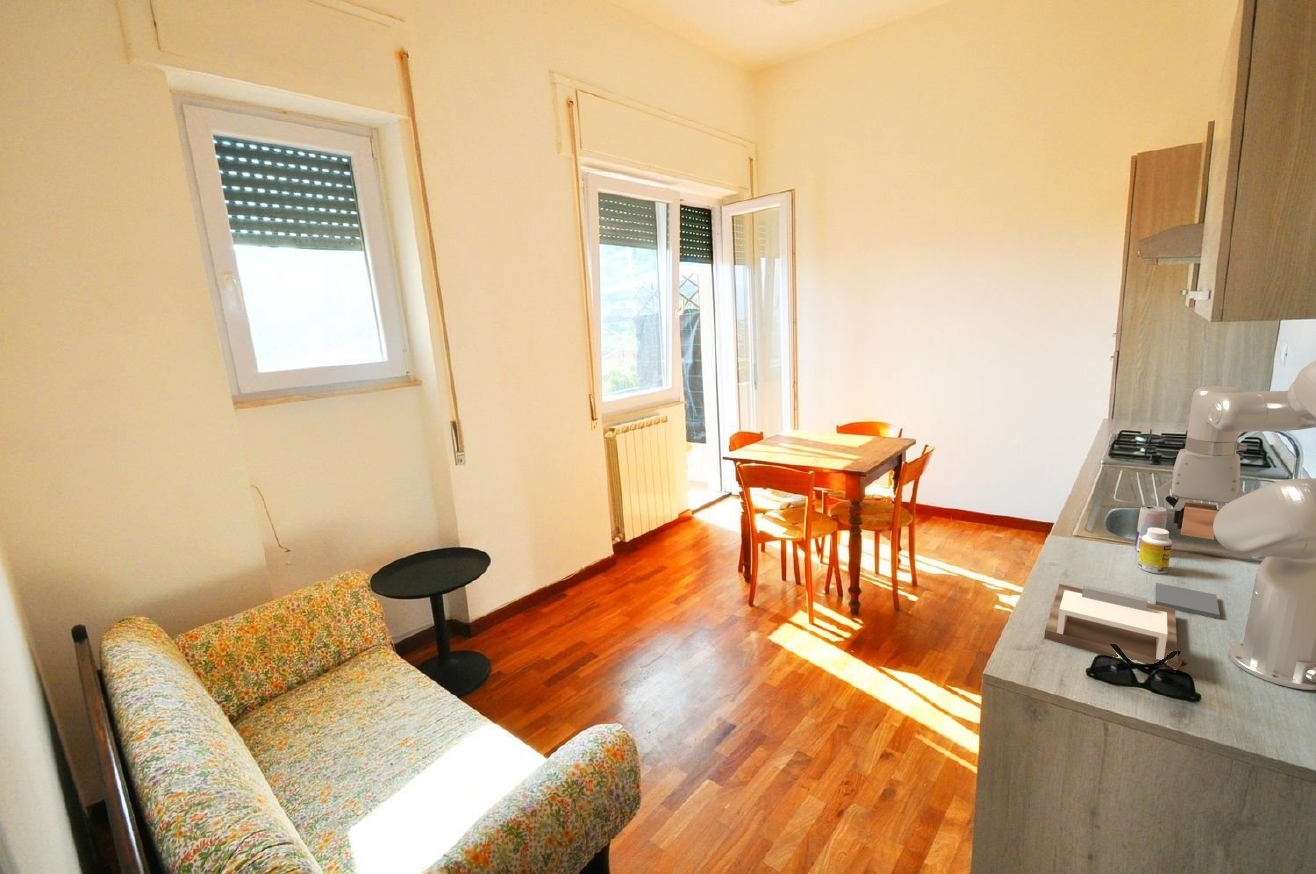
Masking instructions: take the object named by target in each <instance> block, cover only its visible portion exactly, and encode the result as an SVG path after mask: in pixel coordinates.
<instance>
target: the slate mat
mask: <svg viewBox="0 0 1316 874" xmlns="http://www.w3.org/2000/svg"><path fill="white" fill-rule="evenodd" d="M1155 605H1160V606H1164V607H1169V608H1174V609H1175V611H1180V612H1184V613H1189V614H1194V615H1198V616H1203V617H1208V618H1213V619H1218V620H1220V616H1221V615H1220V609H1219V603H1218V597H1217V594H1214V593H1211V592H1205V591H1200V590H1194V589H1190V588H1185V587H1179V586H1174V585H1171V584H1170V585H1169V584H1165V583H1159V582H1155Z"/></svg>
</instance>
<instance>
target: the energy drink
mask: <svg viewBox="0 0 1316 874" xmlns="http://www.w3.org/2000/svg"><path fill="white" fill-rule="evenodd" d="M1167 518H1168V511H1167V509H1166V508H1165V507H1163V506H1160V505H1154V504H1144V505H1141V507H1140V509H1139V515H1138V522H1137V529H1136V536H1135V537H1136V538H1135V544H1134V545H1135V546H1134V549H1135V551H1136V552H1137V551H1139V552H1140V548H1141V541H1142V537H1143V536H1144V535H1146V534H1147V530H1148V528H1161V529H1165V530H1166V527H1167V520H1168V519H1167ZM1139 552H1138V553H1139Z"/></svg>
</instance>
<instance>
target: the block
mask: <svg viewBox="0 0 1316 874" xmlns="http://www.w3.org/2000/svg"><path fill="white" fill-rule="evenodd" d="M1183 508H1184V516H1183V523H1182V529H1180V535H1181V536H1189V537H1195V538H1201V539H1208V540H1214V539H1215V535H1214V531H1213V523H1214V519H1215V516H1216V514H1217V513H1218V510H1219V509H1218V505H1217V504H1212V503H1204V502H1203V503H1202V502H1195V501H1189V500H1187V501H1186V503H1185V504H1184V506H1183Z"/></svg>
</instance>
